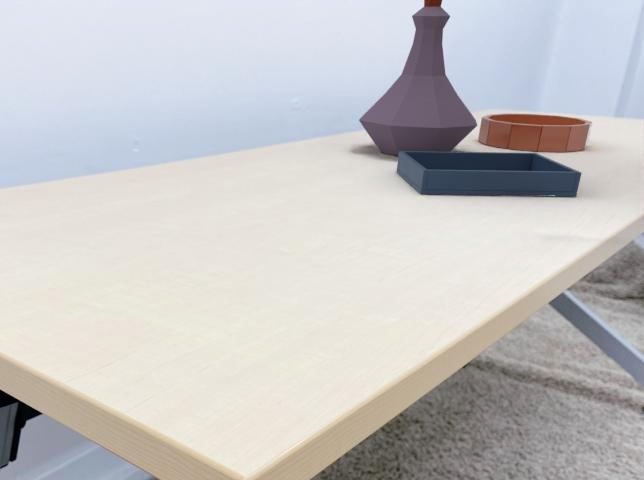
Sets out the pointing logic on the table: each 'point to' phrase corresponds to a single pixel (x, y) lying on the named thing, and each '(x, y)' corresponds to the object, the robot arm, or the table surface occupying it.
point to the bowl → (535, 132)
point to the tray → (486, 173)
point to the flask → (421, 96)
